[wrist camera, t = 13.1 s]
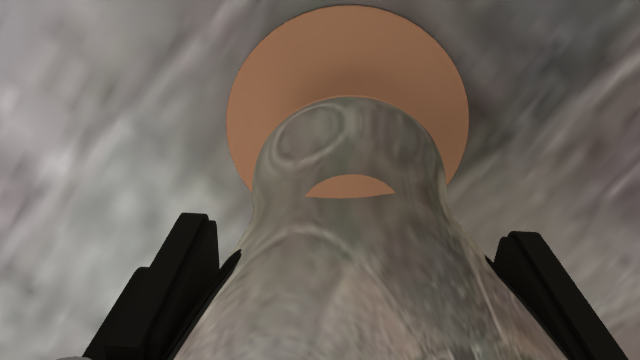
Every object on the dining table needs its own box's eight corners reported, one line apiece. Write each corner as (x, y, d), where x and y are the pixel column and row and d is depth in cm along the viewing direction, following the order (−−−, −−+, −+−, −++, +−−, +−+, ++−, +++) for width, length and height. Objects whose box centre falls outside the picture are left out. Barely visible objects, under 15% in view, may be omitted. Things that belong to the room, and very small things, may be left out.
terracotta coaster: (512, 138, 20) (517, 143, 19) (335, 263, 23) (335, 271, 22) (360, -58, 16) (360, -58, 16) (181, 120, 20) (176, 125, 19)
